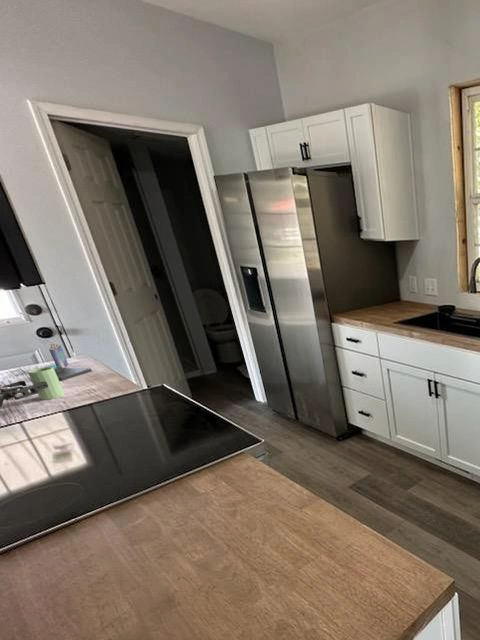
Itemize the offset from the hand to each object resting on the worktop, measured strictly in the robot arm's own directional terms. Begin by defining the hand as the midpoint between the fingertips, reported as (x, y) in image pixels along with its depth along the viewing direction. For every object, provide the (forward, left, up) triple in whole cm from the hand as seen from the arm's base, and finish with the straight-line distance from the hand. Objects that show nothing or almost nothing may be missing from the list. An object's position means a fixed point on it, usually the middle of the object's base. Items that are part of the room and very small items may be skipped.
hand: (35, 383), depth 140 cm
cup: (0, +3, -6) cm, 7 cm away
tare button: (-25, +23, -3) cm, 34 cm away
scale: (-21, +23, -6) cm, 32 cm away
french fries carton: (-34, +33, -6) cm, 48 cm away
